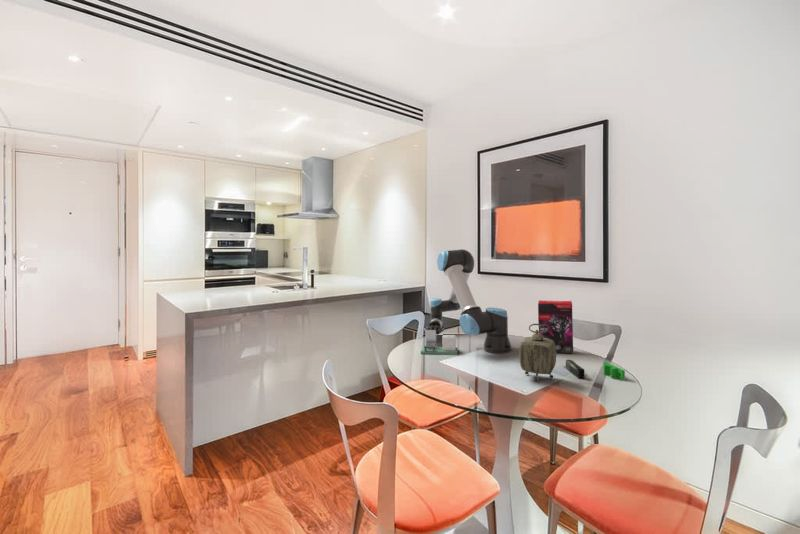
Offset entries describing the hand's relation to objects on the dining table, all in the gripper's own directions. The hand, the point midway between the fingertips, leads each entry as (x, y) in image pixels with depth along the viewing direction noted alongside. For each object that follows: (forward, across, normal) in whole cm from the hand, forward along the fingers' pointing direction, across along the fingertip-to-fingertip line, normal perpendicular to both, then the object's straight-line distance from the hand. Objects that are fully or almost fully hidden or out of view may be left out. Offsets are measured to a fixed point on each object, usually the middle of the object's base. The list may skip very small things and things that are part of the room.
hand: (430, 336), depth 219 cm
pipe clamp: (+36, -84, -8) cm, 92 cm away
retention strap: (+4, 0, -6) cm, 7 cm away
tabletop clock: (+42, -52, -8) cm, 67 cm away
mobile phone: (+33, -69, -8) cm, 77 cm away
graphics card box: (+2, -68, -8) cm, 68 cm away
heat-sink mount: (+6, -5, -7) cm, 11 cm away
